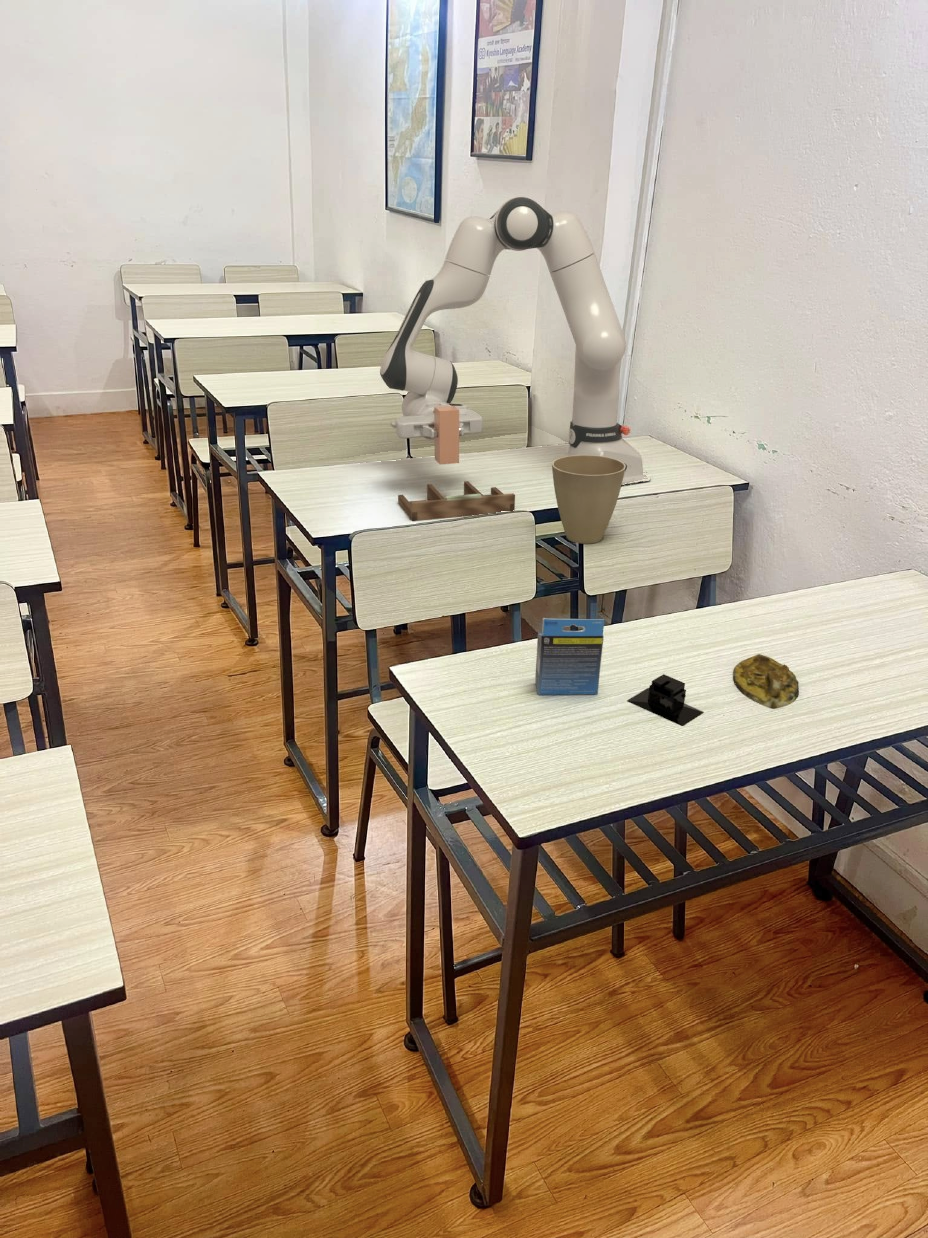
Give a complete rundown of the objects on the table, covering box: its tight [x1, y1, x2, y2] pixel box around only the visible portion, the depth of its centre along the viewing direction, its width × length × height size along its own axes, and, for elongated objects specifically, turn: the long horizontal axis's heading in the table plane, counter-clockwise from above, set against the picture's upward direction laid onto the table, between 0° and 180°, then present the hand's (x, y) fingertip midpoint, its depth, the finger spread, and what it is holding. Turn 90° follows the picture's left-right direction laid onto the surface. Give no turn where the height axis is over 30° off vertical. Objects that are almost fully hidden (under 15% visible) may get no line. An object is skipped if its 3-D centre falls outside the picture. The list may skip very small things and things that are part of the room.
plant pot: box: [551, 455, 626, 545], centre depth 185 cm, size 15×15×16 cm
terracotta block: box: [434, 406, 460, 465], centre depth 202 cm, size 4×4×12 cm
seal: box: [732, 653, 800, 710], centre depth 133 cm, size 9×5×15 cm
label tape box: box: [534, 617, 605, 696], centre depth 128 cm, size 9×4×12 cm, turn 92°
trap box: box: [397, 480, 516, 522], centre depth 205 cm, size 24×13×5 cm, turn 108°
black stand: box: [626, 673, 705, 727], centre depth 126 cm, size 12×7×5 cm, turn 44°
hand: (447, 433), depth 201 cm, fingers closed on terracotta block, 4 cm apart
